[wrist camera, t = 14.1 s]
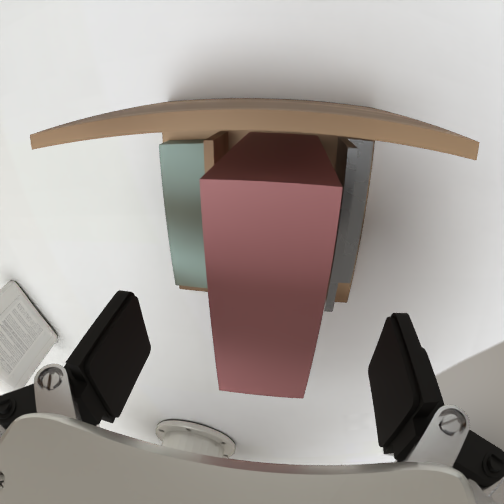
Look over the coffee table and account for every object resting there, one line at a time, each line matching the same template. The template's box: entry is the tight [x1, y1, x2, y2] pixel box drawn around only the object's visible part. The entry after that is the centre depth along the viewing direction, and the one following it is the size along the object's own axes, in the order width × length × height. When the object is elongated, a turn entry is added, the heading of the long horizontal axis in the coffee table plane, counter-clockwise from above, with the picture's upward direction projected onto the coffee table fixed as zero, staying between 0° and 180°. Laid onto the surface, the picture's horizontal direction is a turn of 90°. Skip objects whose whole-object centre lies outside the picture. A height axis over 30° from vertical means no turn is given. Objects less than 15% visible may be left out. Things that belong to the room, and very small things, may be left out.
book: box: [200, 132, 343, 398], centre depth 15 cm, size 10×4×10 cm, turn 0°
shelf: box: [30, 98, 479, 303], centre depth 15 cm, size 14×13×12 cm
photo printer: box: [0, 281, 57, 395], centre depth 26 cm, size 10×4×12 cm, turn 28°
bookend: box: [324, 137, 373, 312], centre depth 17 cm, size 10×2×4 cm, turn 0°
